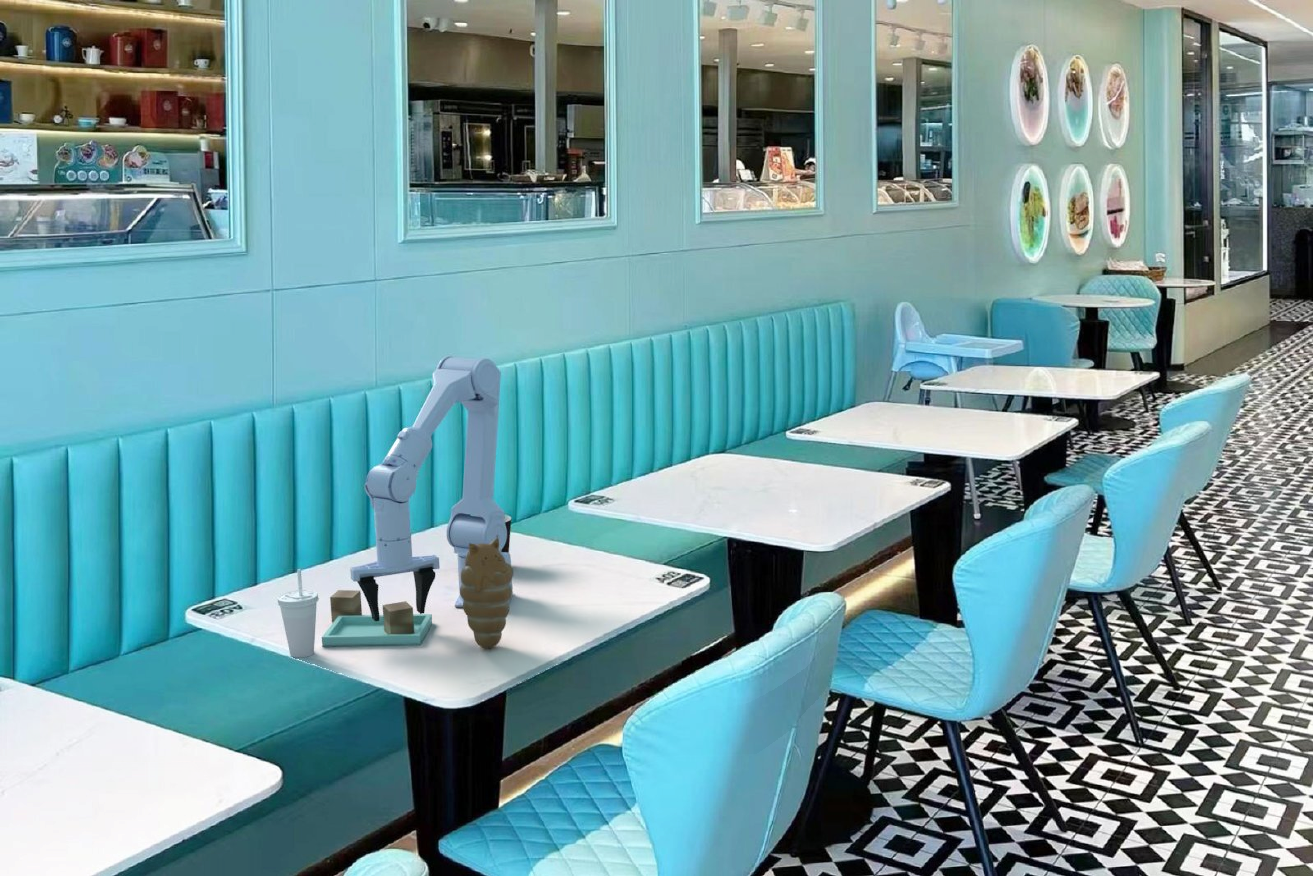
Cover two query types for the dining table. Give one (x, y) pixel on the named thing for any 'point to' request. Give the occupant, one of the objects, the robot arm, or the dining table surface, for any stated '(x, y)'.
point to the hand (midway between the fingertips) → (398, 615)
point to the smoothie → (299, 619)
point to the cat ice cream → (486, 592)
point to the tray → (372, 632)
